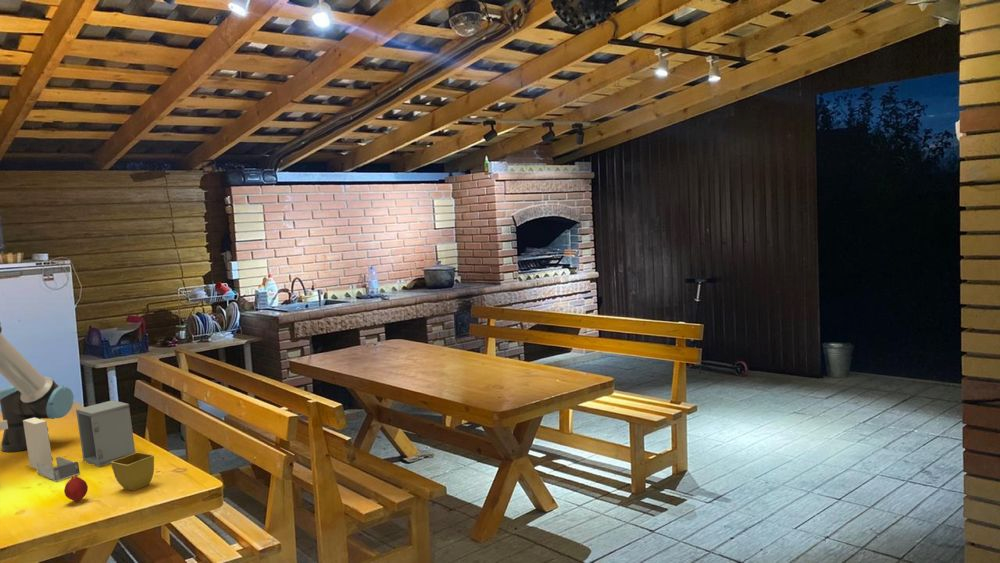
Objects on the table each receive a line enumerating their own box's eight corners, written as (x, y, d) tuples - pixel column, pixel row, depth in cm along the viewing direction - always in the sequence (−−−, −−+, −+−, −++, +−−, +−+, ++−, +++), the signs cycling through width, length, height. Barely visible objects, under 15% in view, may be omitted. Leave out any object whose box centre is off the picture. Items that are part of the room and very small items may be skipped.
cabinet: (83, 461, 252) (75, 409, 250) (119, 450, 261) (112, 400, 259) (100, 467, 244) (92, 414, 242) (137, 456, 253) (130, 404, 251)
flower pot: (131, 495, 216) (126, 465, 215) (113, 490, 221) (109, 461, 220) (158, 484, 224) (154, 455, 223) (141, 480, 228) (137, 451, 227)
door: (29, 466, 251) (22, 420, 249) (42, 462, 254) (35, 417, 252) (41, 471, 245) (34, 424, 243) (54, 467, 248) (47, 420, 246)
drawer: (37, 473, 242) (36, 461, 242) (60, 466, 248) (58, 455, 247) (56, 481, 233) (54, 469, 233) (79, 474, 238) (78, 462, 238)
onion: (72, 498, 217) (68, 472, 216) (92, 496, 217) (89, 470, 217) (62, 506, 211) (58, 479, 210) (83, 504, 212) (79, 477, 211)
